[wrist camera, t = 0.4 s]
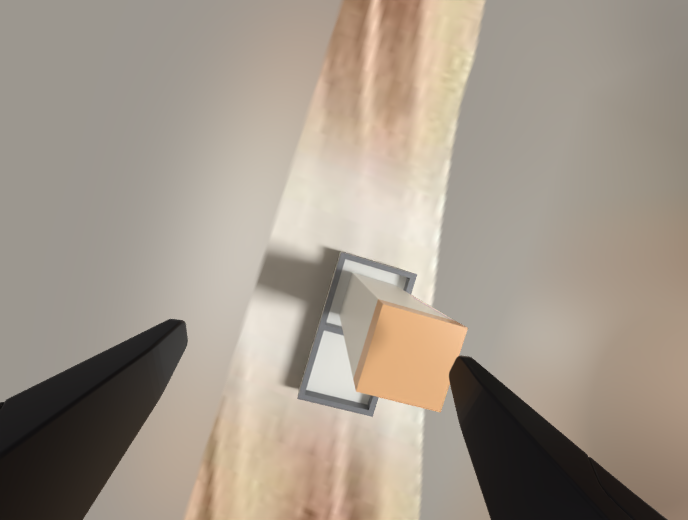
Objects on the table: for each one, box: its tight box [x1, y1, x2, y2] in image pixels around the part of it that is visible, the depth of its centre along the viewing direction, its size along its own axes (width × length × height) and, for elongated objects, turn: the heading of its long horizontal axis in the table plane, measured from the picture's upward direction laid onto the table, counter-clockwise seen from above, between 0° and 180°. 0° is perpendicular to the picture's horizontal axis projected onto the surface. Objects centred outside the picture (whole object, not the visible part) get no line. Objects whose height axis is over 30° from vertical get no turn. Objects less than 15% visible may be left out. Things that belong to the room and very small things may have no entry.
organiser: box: [297, 251, 417, 416], centre depth 23 cm, size 14×7×2 cm, turn 163°
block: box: [339, 272, 468, 412], centre depth 17 cm, size 4×4×12 cm
